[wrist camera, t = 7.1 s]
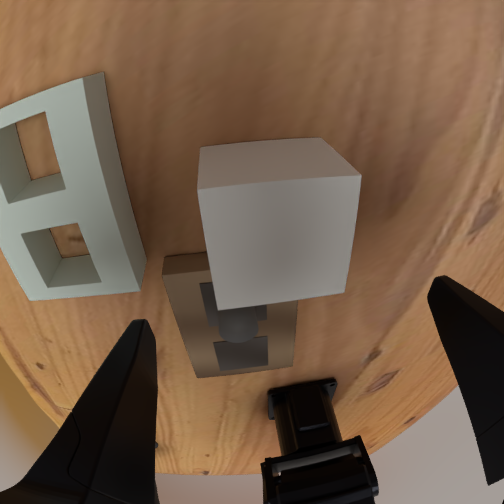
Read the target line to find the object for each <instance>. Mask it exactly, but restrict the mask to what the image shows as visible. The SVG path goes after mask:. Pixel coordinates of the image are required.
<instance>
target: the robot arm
mask: <svg viewBox="0 0 504 504" xmlns="http://www.w3.org/2000/svg"><path fill="white" fill-rule="evenodd" d="M427 300H428V304H429V307H430V309H431V312H432V315H433V318H434V321H435V324H436V327H437V330H438V333H439V336H440V339H441V342H442V344H443V347H444V349H445V352H446V354H447V356H448V359H449V361H450V364H451V366H452V369H453V372H454V374H455V377H456V380H457V382H458V385H459V388H460V390H461V393H462V396H463V399H464V402H465V405H466V408H467V411H468V414H469V417H470V420H471V423H472V427H473V430H474V433H475V437H476V441H477V444H478V448H479V452H480V456H481V459H482V464H483V468H484V472H485V476H486V481H487V484H488V485H491V484H493V483H495V482H497V481H499V480H501V479H503V478H504V312H503V311H501V310H500V309H498V308H497V307H495V306H494V305H492V304H491V303H489V302H488V301H486V300H485V299H483V298H482V297H480V296H478V295H477V294H475V293H474V292H472V291H471V290H469V289H467V288H466V287H464V286H463V285H461V284H459V283H458V282H456V281H454V280H453V279H451V278H449V277H448V276H445V275H443V276H438V277H435V278H434V280H433V282H432V285H431V287H430V290H429V292H428V296H427ZM336 386H337V381H336V379H330V380H325V381H320V382H315V383H310V384H304V385H299V386H293V387H287V388H281V389H274V390H270V391H269V392H268V417H269V419H270V420H275V423H276V429H277V434H278V439H279V445H280V450H281V455H282V456H279V457H274V458H271V457H269V458H265V462H263V463H261V471H262V477H263V504H375V502H374V497H375V496H377V495H378V493H379V488H378V481H377V477H376V474H375V471H374V468H373V465H372V463H371V461H370V458H369V456H368V453H367V451H366V448H365V446H364V443H363V441H362V439H361V436H360V435H358V436H355V437H354V438H352V439H348V440H345V441H343V440H342V437H341V433H340V430H339V426H338V423H337V419H336V416H335V413H334V409H333V406H332V403H331V401H332V398H333V395H334V392H335V389H336ZM157 397H158V384H157V362H156V341H155V337H154V334H153V332H152V330H151V327H150V325H149V323H148V321H147V320H146V319H138V320H133V321H132V322H131V323H130V324H129V326H128V327H127V329H126V330H125V332H124V333H123V334H122V336H121V337H120V339H119V340H118V342H117V343H116V344H115V346H114V347H113V349H112V350H111V352H110V353H109V355H108V356H107V358H106V359H105V360H104V362H103V363H102V365H101V366H100V368H99V369H98V371H97V372H96V374H95V375H94V377H93V378H92V380H91V381H90V383H89V384H88V386H87V387H86V389H85V391H84V392H83V394H82V395H81V397H80V398H79V400H78V401H77V403H76V404H75V406H74V408H73V409H72V412H70V414H69V415H68V417H67V418H66V420H65V422H64V423H63V425H62V426H61V428H60V429H59V431H58V433H57V434H56V435H55V437H54V438H53V439H52V441H51V442H50V444H49V445H48V446H47V448H46V449H45V450H44V452H43V453H42V454H41V456H40V457H39V458H38V459H37V461H36V462H35V463H34V465H33V466H32V467H31V469H30V470H29V471H28V473H27V474H26V475H25V476H24V478H23V479H22V480H21V481H20V482H18V483H17V484H16V485H14V486H13V487H11V488H9V489H6V490H4V491H2V492H0V504H155V440H156V415H157ZM279 472H281V475H280V476H279V474H278V473H279ZM502 504H504V500H503V503H502Z"/></svg>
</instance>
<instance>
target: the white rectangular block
mask: <svg viewBox="0 0 504 504" xmlns="http://www.w3.org/2000/svg"><path fill="white" fill-rule="evenodd" d="M361 177H362V175H361V174H360V173H359V172H358V171H357V170H356V169H355V168H354V167H353V166H352V165H350V164H349V163H348V162H347V161H346V160H345V159H344V158H343V157H342V156H341V155H340V154H339V153H338V152H337V151H335V150H334V149H333V148H332V147H331V146H330V145H329V144H328V143H327V142H325V141H324V140H323V139H322V138H321V137H318V138H295V139H278V140H264V141H252V142H241V143H231V144H222V145H213V146H205V147H200V156H199V168H198V182H197V193H198V200H199V206H200V212H201V218H202V224H203V230H204V236H205V242H206V248H207V254H208V259H209V265H210V270H211V276H212V281H213V287H214V292H215V297H216V303H217V308H218V310H225V309H233V308H241V307H249V306H257V305H265V304H272V303H279V302H286V301H293V300H300V299H307V298H313V297H320V296H326V295H332V294H339V293H344V291H345V286H346V280H347V275H348V269H349V263H350V258H351V251H352V245H353V239H354V232H355V225H356V218H357V211H358V203H359V195H360V186H361Z"/></svg>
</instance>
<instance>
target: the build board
mask: <svg viewBox="0 0 504 504" xmlns="http://www.w3.org/2000/svg"><path fill="white" fill-rule="evenodd" d="M44 111H46V116H47V120H48V125H49V129H50V133H51V137H52V141H53V145H54V149H55V153H56V156H57V160H58V163H59V167H60V170H61V173H57V174H53V175H50V176H46V177H42V178H39V179H35V180H32V181H31V178H30V175H29V172H28V169H27V166H26V162H25V159H24V156H23V152H22V149H21V145H20V141H19V137H18V134H17V130H16V125H15V122H17V121H20V120H22V119H25V118H27V117H30V116H33V115H35V114H38V113H41V112H44ZM72 223H78V225H79V227H80V230H81V233H82V235H83V238H84V241H85V243H86V246H87V248H88V251H89V253H90V255H84V256H77V257H70V258H62V257H61V255H60V253H59V251H58V249H57V246H56V244H55V242H54V239H53V237H52V235H51V232H50V230H49V228H51V227H56V226H62V225H67V224H72ZM0 248H1V250H2V252H3V254H4V256H5V258H6V260H7V261H8V263H9V265H10V267H11V269H12V271H13V273H14V274H15V276H16V278H17V280H18V282H19V283H20V285H21V287H22V289H23V290H24V292H25V294H26V295H27V297H28V299H29V300H30V301H34V300H47V299H60V298H72V297H84V296H95V295H106V294H117V293H127V292H137V291H141V285H142V281H143V276H144V271H145V266H146V262H147V258H146V255H145V251H144V248H143V245H142V241H141V238H140V235H139V231H138V228H137V224H136V221H135V217H134V213H133V210H132V206H131V202H130V198H129V195H128V191H127V187H126V183H125V179H124V174H123V170H122V166H121V162H120V157H119V153H118V148H117V143H116V139H115V134H114V129H113V124H112V119H111V113H110V108H109V102H108V96H107V90H106V84H105V78H104V72H101V73H97V74H93V75H90V76H86V77H83V78H80V79H76V80H73V81H70V82H67V83H64V84H61V85H58V86H56V87H53V88H50V89H47V90H45V91H42V92H39V93H37V94H34V95H32V96H29V97H27V98H24V99H22V100H20V101H17V102H15V103H13V104H11V105H8V106H6V107H4V108H2V109H0Z"/></svg>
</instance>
